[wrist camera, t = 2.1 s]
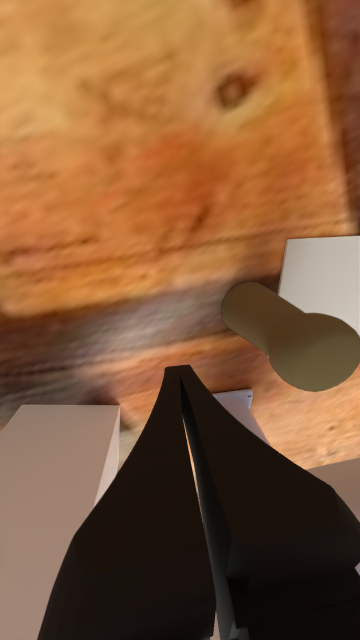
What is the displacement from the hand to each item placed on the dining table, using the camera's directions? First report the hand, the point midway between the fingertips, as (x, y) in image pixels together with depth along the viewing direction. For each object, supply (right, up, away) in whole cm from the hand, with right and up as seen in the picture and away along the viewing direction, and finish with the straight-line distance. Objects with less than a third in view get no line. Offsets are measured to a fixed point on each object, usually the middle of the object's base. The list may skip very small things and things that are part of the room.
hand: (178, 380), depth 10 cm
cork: (+8, +5, +11) cm, 14 cm away
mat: (+18, +6, +11) cm, 22 cm away
